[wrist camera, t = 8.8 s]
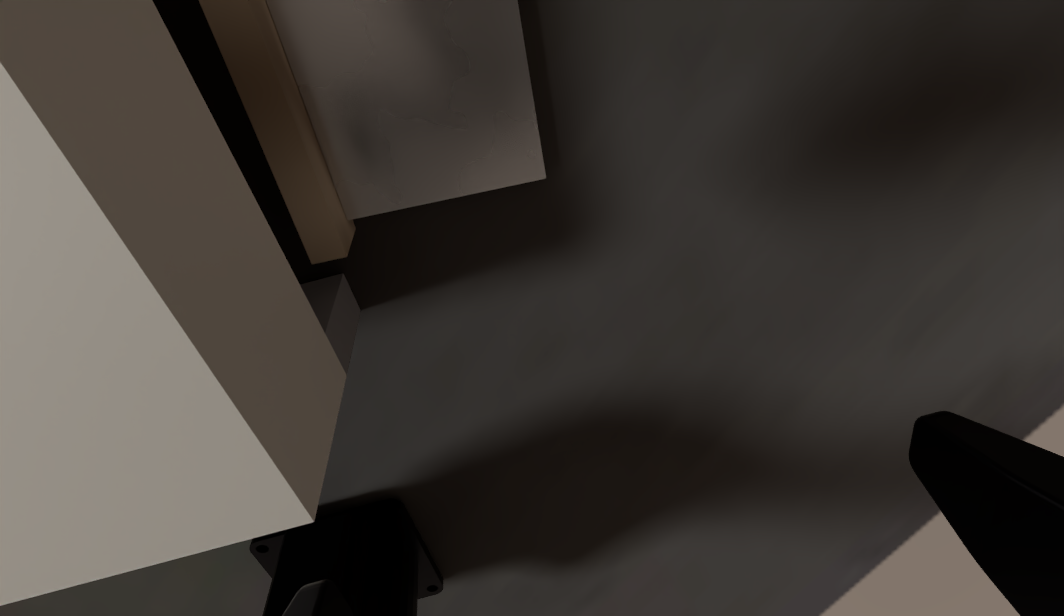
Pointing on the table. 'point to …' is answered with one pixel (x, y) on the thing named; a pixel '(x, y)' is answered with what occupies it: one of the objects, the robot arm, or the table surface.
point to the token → (414, 97)
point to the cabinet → (143, 314)
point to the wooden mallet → (281, 123)
